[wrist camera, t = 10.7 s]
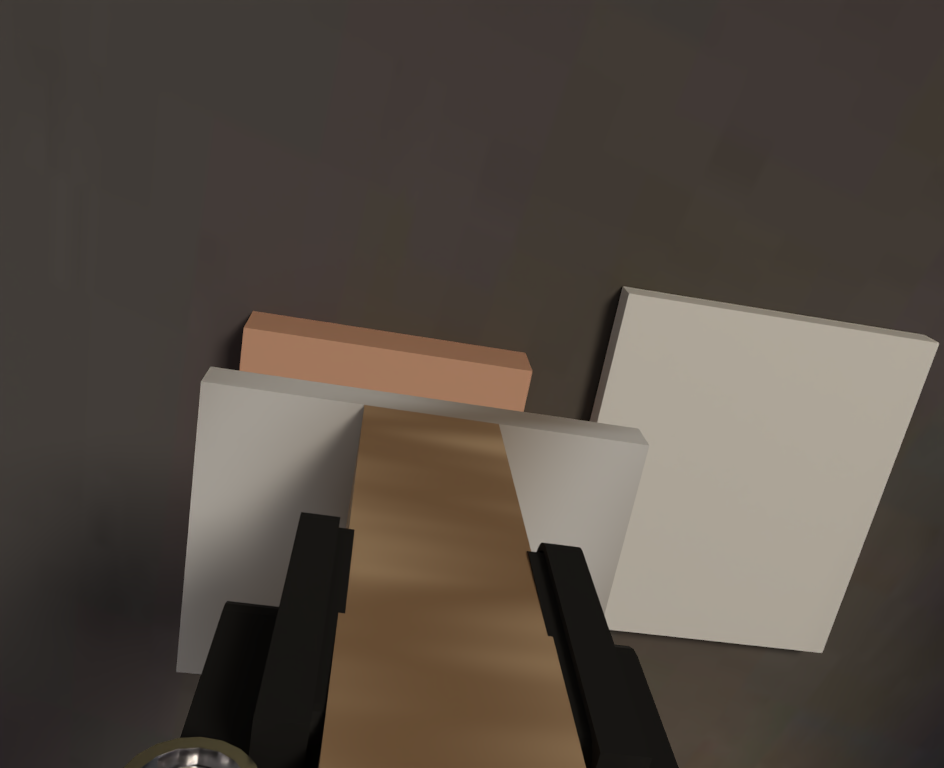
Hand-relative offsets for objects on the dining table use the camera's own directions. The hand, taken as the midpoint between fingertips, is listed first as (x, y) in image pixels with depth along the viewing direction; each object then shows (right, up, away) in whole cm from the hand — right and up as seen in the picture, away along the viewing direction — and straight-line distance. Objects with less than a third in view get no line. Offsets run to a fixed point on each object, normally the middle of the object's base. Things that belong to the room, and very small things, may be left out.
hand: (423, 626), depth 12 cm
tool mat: (+11, 0, +23) cm, 26 cm away
